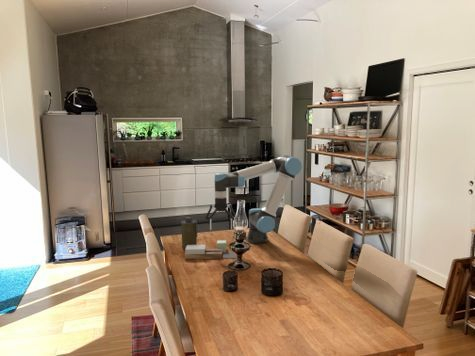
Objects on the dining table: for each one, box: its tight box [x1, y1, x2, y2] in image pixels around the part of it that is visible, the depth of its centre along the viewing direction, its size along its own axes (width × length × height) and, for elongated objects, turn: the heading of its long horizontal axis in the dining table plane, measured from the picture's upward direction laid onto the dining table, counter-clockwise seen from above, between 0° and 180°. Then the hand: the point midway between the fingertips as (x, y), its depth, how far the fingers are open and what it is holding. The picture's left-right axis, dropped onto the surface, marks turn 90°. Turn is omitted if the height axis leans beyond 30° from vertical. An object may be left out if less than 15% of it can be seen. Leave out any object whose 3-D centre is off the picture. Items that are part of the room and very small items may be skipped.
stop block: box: [216, 239, 227, 253], centre depth 250 cm, size 6×6×6 cm
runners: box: [184, 248, 223, 260], centre depth 240 cm, size 9×23×3 cm, turn 91°
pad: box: [222, 251, 237, 259], centre depth 241 cm, size 10×8×1 cm
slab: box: [184, 244, 207, 255], centre depth 240 cm, size 9×12×3 cm
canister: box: [180, 216, 198, 249], centre depth 259 cm, size 11×10×20 cm
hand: (221, 229), depth 249 cm, fingers open, 13 cm apart
